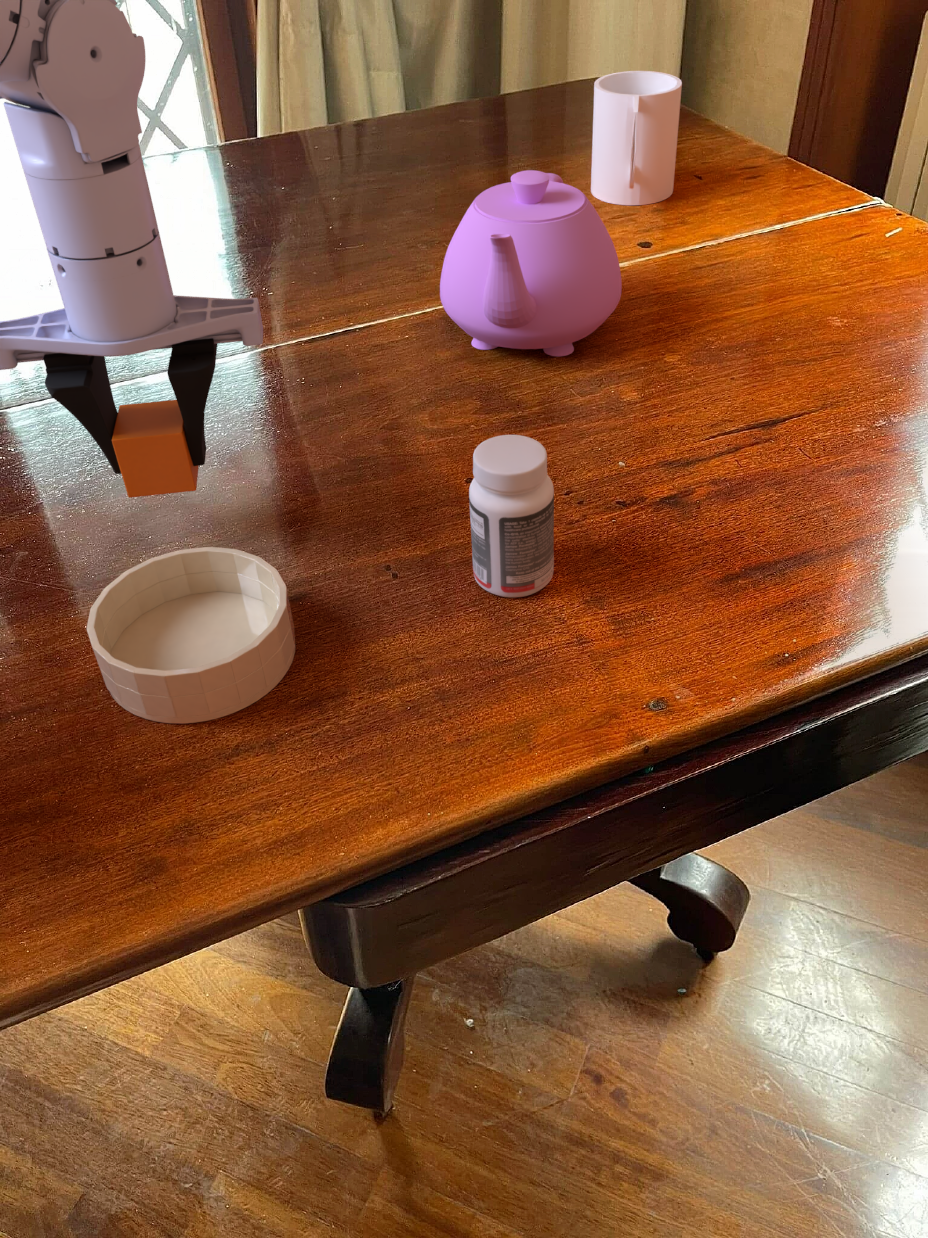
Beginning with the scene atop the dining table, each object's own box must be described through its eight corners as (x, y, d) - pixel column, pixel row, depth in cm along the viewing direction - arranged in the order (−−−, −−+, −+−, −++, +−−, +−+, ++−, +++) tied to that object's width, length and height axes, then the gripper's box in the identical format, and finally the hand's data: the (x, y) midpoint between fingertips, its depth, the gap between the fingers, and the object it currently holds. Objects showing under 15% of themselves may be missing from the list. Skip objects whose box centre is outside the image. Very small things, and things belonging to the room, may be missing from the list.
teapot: (592, 405, 78) (599, 239, 70) (405, 386, 82) (391, 225, 74) (635, 287, 93) (645, 138, 85) (474, 275, 96) (469, 130, 88)
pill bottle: (565, 560, 65) (568, 439, 60) (535, 608, 62) (535, 485, 56) (492, 542, 67) (488, 423, 61) (459, 588, 64) (452, 466, 58)
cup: (586, 219, 105) (589, 108, 98) (593, 175, 114) (596, 70, 107) (673, 220, 104) (682, 108, 97) (673, 175, 112) (681, 70, 106)
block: (128, 498, 65) (111, 440, 62) (135, 461, 68) (119, 404, 65) (196, 491, 65) (182, 432, 62) (200, 455, 68) (186, 398, 65)
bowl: (92, 735, 56) (74, 686, 54) (116, 605, 64) (100, 557, 61) (296, 711, 57) (286, 661, 54) (295, 585, 64) (286, 537, 62)
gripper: (245, 197, 60) (282, 414, 69) (-24, 221, 59) (49, 437, 68) (241, 248, 55) (282, 475, 64) (-54, 275, 54) (29, 502, 63)
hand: (161, 460), depth 66 cm, fingers closed on block, 4 cm apart
